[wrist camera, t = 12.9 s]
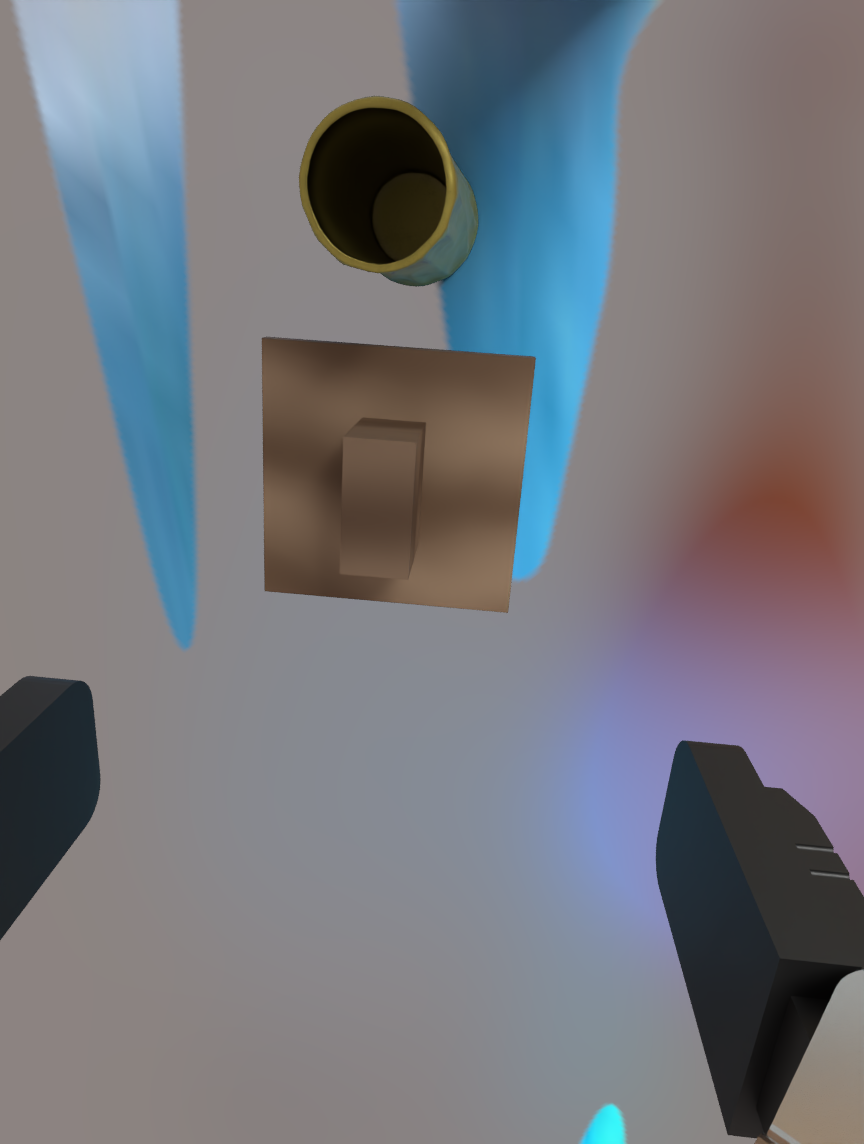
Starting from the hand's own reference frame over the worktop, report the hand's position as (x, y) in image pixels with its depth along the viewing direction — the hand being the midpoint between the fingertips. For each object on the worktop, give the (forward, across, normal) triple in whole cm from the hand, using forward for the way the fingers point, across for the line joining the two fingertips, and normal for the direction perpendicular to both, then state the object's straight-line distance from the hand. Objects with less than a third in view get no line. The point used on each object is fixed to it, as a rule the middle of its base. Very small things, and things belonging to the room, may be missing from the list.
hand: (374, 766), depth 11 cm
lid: (+28, +3, +3) cm, 28 cm away
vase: (+33, +3, -9) cm, 35 cm away
